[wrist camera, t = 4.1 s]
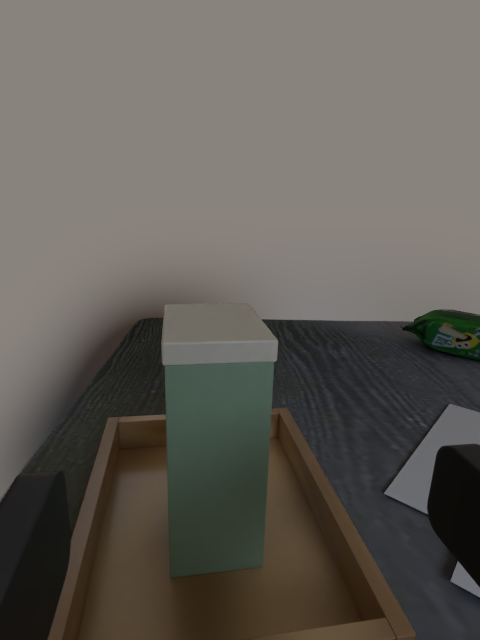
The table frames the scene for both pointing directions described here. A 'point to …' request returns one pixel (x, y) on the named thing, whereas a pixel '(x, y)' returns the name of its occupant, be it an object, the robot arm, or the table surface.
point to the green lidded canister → (217, 435)
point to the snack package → (449, 332)
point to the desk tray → (221, 587)
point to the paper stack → (419, 469)
